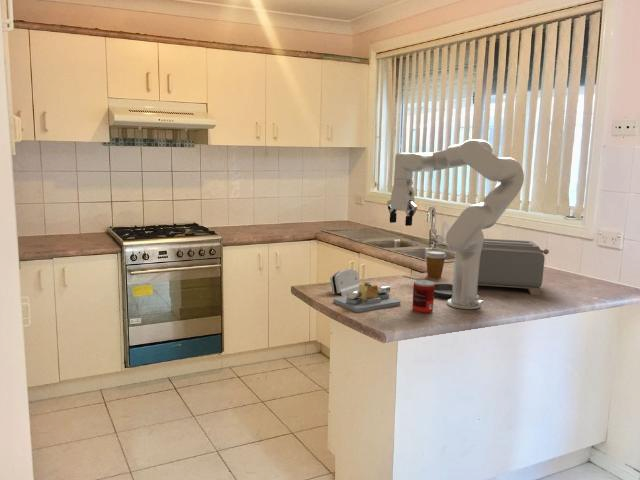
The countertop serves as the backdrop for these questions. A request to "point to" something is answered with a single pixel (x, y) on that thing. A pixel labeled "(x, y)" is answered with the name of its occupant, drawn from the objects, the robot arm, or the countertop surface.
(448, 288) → the frying pan
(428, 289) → the canned food
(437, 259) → the disposable coffee cup
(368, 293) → the coupler
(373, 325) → the countertop surface
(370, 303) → the board
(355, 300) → the shaft
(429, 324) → the countertop surface
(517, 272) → the toaster
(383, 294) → the shaft
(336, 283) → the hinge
